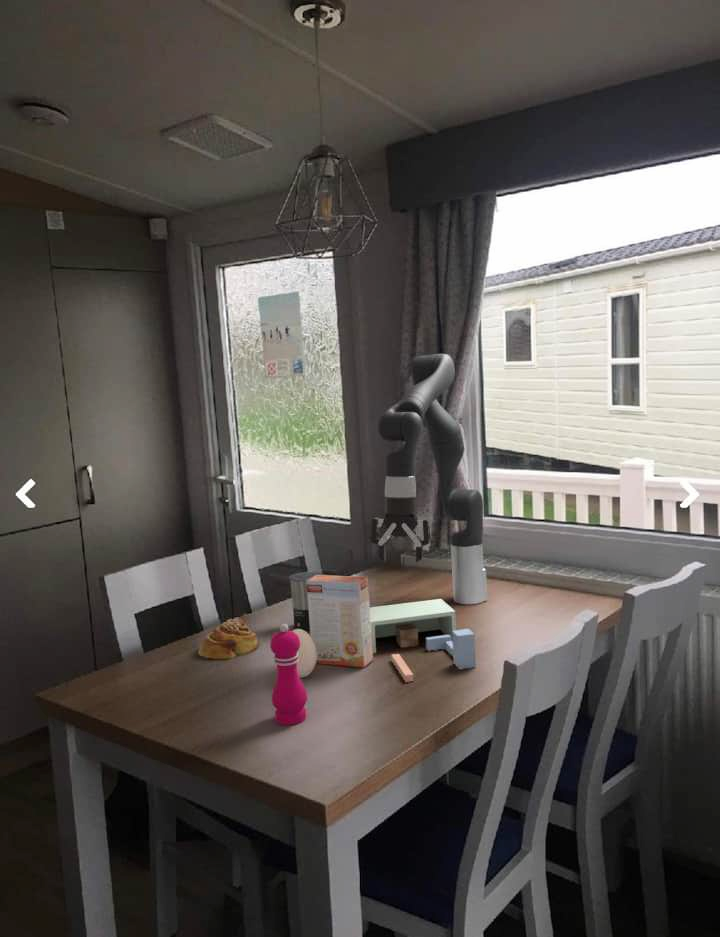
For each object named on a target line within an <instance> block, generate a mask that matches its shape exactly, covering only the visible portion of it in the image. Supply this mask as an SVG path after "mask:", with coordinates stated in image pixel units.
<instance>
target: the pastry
mask: <svg viewBox="0 0 720 937" xmlns="http://www.w3.org/2000/svg"><path fill="white" fill-rule="evenodd" d="M259 647H260V643H259V640H258V638H257V634H256V633H255V632H252V631H251V630H250V628H249V627H248V625H247V624H246V623H245V622H244V621H243V619H241V618H240V617H238V616H237V617H234V618H229V619H227V620H226V621H225V622H222V623H221V624H220V625H217V627H215V628H214V629H212V630H211V631H210V632H209V633H208V634H207V635H206V636H205V638H204V639H203V642H202V643H201V645H200V647H199V648H198V652H197V655H198V654H199V655H200V656H199V655H198V656H199V657H201V656H204V657H207V658H212V659H211V660H230V659H229V658H231V659H234V658H235V657H237V655H238V656H242V655H243V656H244V655H248V654H250V652H251V653H253V652H255V651H256V650H257V649H258V648H259ZM204 657H203V658H204ZM233 657H234V658H233ZM207 658H206V659H207Z"/></svg>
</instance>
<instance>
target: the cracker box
mask: <svg viewBox="0 0 720 937" xmlns="http://www.w3.org/2000/svg"><path fill="white" fill-rule="evenodd" d="M306 582H307V596H308V610H309V623H310V632H309V635H310V636H311V638H312V640H313V642H314V644H315V647H316V653H317V659H316V664H322V665H331V666H341V667H353V668H365V667H367V666H368V665H369V664H370V663H371V662H372V661H373V660H374V653H373V649H372V634H371V620H370V606H371V605H370V594H369V579H368V576H355V575H354V576H351V575H327V574H322V575H315V576H314V577H312V578H310V579H308V580H307V581H306Z"/></svg>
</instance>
